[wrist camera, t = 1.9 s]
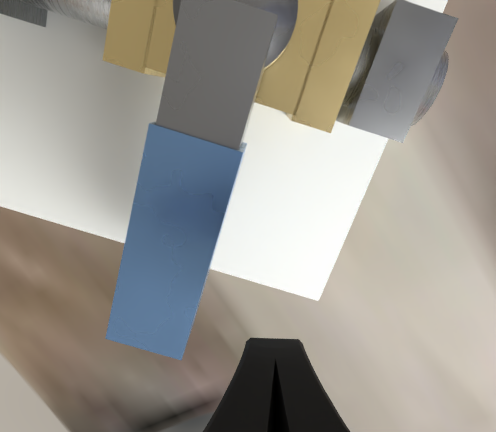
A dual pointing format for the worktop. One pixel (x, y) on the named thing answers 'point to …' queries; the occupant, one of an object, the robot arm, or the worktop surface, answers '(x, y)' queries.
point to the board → (132, 146)
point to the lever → (192, 164)
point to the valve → (298, 56)
